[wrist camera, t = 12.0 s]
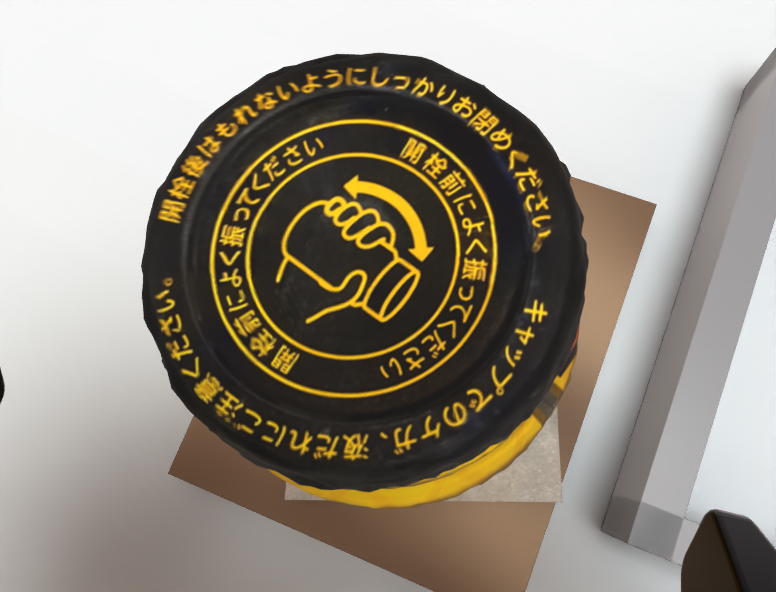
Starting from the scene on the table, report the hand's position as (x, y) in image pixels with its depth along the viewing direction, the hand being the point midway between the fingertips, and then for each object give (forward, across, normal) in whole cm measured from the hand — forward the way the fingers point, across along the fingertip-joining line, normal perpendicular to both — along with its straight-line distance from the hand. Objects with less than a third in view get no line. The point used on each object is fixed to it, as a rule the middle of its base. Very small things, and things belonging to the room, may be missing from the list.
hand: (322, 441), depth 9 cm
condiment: (+10, 0, +6) cm, 11 cm away
